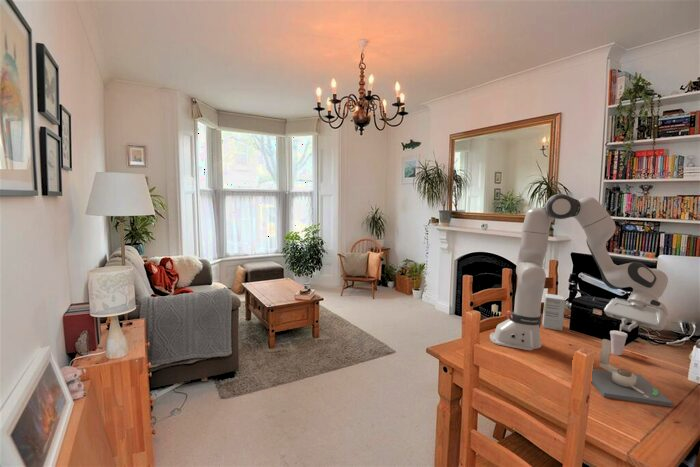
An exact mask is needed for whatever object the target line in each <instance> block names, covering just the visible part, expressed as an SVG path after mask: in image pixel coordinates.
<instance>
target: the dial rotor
mask: <svg viewBox="0 0 700 467" xmlns="http://www.w3.org/2000/svg"><path fill="white" fill-rule="evenodd" d="M601 340H602V342H601V350H600V358H599V360H600V361H599V367H602V369H603V370H608V371H610V372H611V373H612V381H613V382H614V383H616V384H618V385H621V386H624V387H630V388H633V389H635V390H637V391H639V392H640V393H642V394H644V392H642V391H641V390H639V389H637V388H636V387H635V386H636V378H637V377H636V376H635V375H634V374H635V373H632V371H629V370H628V369H624V368H616V367H615V366H613V365H611V364H610V359H611V358H610V357H611V356H610V355H611V339H610V340H609V339H608V338H607V339H606V338H603V339H601Z"/></svg>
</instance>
